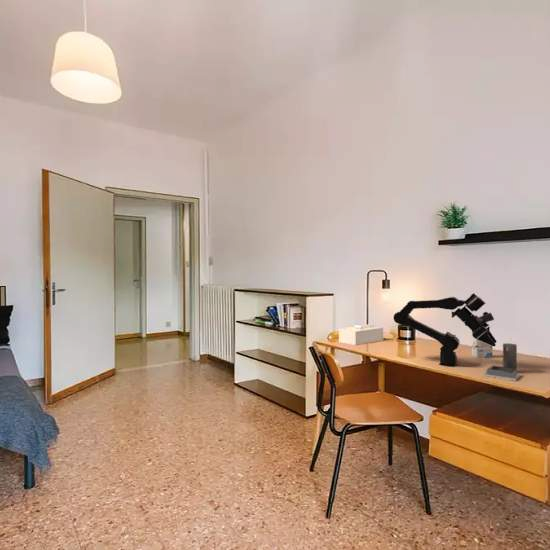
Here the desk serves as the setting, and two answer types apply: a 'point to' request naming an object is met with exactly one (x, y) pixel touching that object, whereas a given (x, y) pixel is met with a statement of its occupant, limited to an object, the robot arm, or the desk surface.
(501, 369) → the square tray
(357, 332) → the tissue box
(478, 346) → the ink box
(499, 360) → the desk surface
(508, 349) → the grey domed cylinder
